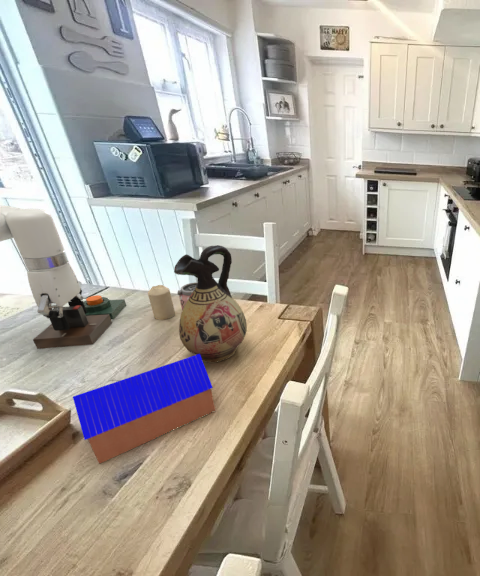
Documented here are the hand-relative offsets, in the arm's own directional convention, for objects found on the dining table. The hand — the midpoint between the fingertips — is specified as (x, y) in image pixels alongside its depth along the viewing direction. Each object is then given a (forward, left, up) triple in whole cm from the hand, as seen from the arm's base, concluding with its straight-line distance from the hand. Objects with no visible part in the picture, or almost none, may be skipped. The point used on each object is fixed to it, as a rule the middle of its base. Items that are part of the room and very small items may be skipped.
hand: (71, 321), depth 87 cm
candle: (+19, +8, -5) cm, 21 cm away
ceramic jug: (+39, -14, -5) cm, 42 cm away
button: (0, +12, -1) cm, 12 cm away
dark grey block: (0, 0, -1) cm, 1 cm away
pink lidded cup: (+30, +3, -5) cm, 31 cm away
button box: (0, +12, -5) cm, 13 cm away
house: (+30, -35, -5) cm, 46 cm away
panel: (0, 0, -5) cm, 5 cm away
